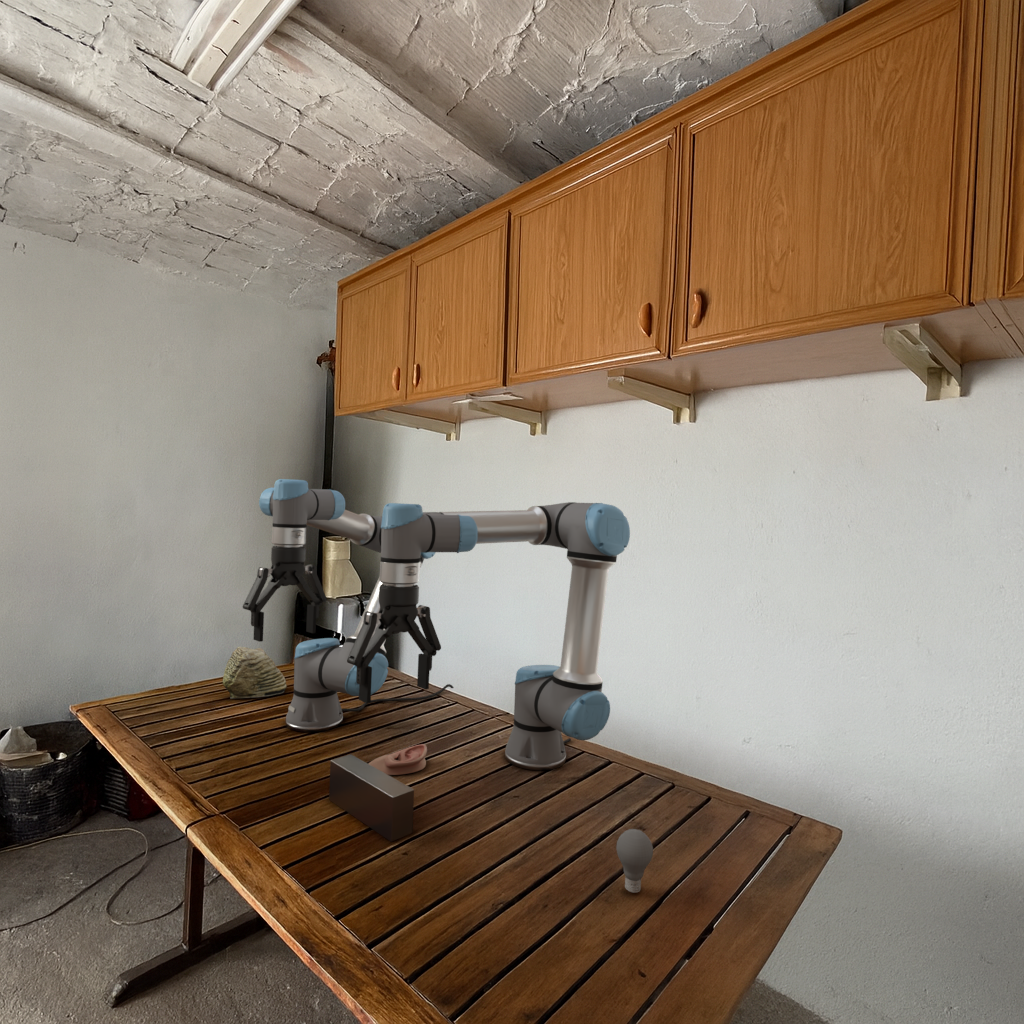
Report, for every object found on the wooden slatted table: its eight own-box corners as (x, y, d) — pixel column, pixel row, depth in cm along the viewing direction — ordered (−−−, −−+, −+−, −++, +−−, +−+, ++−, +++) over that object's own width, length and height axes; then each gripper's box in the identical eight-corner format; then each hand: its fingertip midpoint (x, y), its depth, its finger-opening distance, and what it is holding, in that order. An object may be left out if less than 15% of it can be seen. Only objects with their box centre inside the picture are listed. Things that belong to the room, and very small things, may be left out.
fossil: (218, 695, 195) (220, 647, 195) (278, 685, 208) (279, 640, 207) (228, 703, 189) (230, 653, 188) (289, 692, 201) (290, 645, 201)
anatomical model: (361, 754, 146) (381, 736, 157) (360, 771, 146) (380, 752, 157) (415, 762, 143) (432, 743, 155) (415, 779, 143) (431, 759, 155)
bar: (328, 799, 133) (330, 760, 132) (349, 792, 136) (350, 754, 136) (391, 842, 118) (393, 797, 117) (412, 832, 121) (414, 789, 121)
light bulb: (610, 879, 108) (613, 822, 108) (644, 879, 109) (647, 822, 109) (619, 902, 102) (622, 840, 102) (655, 901, 103) (658, 840, 103)
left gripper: (246, 548, 135) (242, 647, 136) (343, 545, 155) (339, 631, 155) (228, 545, 140) (225, 641, 140) (325, 542, 160) (321, 626, 160)
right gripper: (353, 591, 109) (348, 713, 110) (461, 582, 128) (456, 686, 128) (330, 585, 115) (326, 702, 115) (437, 577, 133) (432, 678, 133)
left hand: (285, 636), depth 148 cm, fingers open, 13 cm apart
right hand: (394, 694), depth 121 cm, fingers open, 13 cm apart
